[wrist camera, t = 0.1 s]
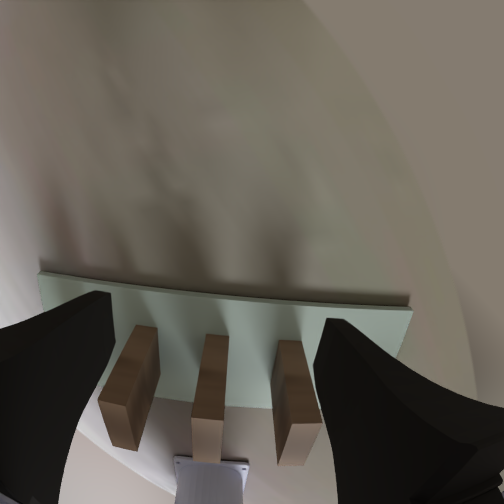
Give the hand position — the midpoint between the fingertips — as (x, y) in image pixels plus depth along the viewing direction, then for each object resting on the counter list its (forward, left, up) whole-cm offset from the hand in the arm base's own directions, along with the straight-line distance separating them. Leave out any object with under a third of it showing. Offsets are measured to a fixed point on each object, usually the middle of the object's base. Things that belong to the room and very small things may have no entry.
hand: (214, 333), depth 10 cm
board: (-9, 0, -10) cm, 13 cm away
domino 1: (-9, +5, -9) cm, 14 cm away
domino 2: (-9, 0, -9) cm, 13 cm away
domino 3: (-9, -5, -9) cm, 14 cm away
